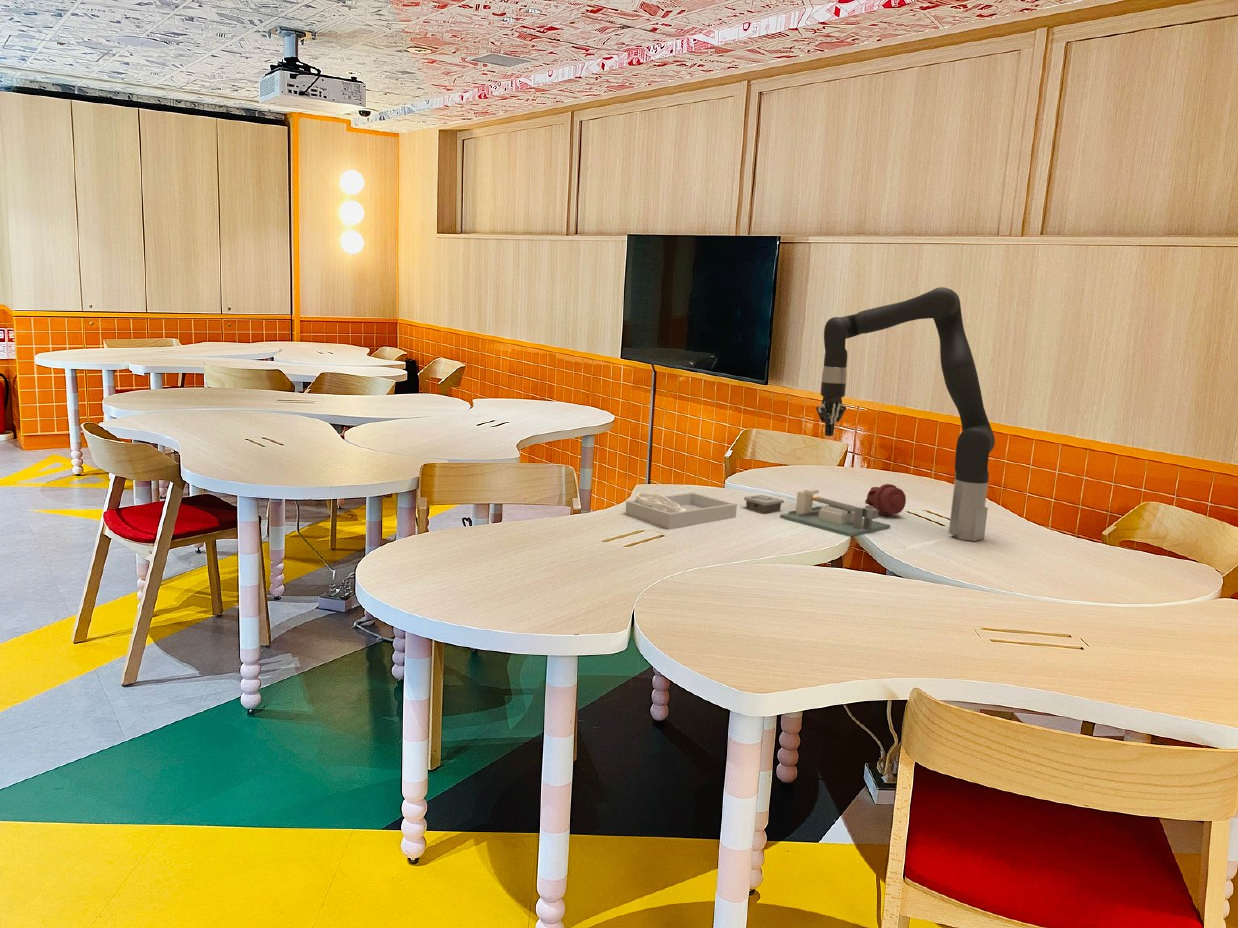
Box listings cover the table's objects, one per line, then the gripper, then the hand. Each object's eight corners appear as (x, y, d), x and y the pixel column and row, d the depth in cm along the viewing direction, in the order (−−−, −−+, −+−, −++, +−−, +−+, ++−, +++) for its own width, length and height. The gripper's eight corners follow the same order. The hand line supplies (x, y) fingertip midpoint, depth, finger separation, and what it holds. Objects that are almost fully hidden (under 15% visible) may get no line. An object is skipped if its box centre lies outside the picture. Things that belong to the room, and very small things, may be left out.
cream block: (816, 515, 289) (818, 490, 288) (808, 516, 287) (810, 491, 285) (803, 512, 293) (805, 487, 292) (795, 513, 291) (797, 488, 289)
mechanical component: (859, 512, 304) (860, 482, 303) (883, 511, 308) (884, 481, 307) (885, 518, 293) (886, 486, 292) (909, 516, 297) (911, 485, 296)
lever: (878, 518, 275) (879, 510, 275) (871, 519, 273) (872, 511, 272) (818, 501, 291) (818, 494, 291) (811, 502, 289) (812, 495, 289)
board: (890, 528, 282) (892, 505, 281) (850, 536, 269) (852, 512, 268) (820, 510, 301) (822, 489, 300) (780, 517, 288) (781, 495, 287)
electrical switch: (742, 497, 297) (761, 489, 302) (743, 512, 298) (762, 504, 304) (765, 503, 290) (784, 495, 295) (765, 518, 291) (785, 510, 297)
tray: (735, 518, 285) (736, 504, 284) (669, 529, 266) (670, 514, 266) (691, 505, 299) (692, 492, 298) (625, 515, 280) (626, 501, 280)
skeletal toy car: (690, 531, 272) (692, 507, 270) (655, 533, 268) (657, 508, 266) (663, 514, 290) (664, 491, 289) (630, 516, 286) (631, 492, 285)
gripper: (830, 382, 287) (825, 438, 290) (856, 382, 296) (851, 436, 299) (811, 380, 293) (806, 435, 296) (836, 379, 301) (831, 433, 304)
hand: (828, 435), depth 297 cm, fingers closed
